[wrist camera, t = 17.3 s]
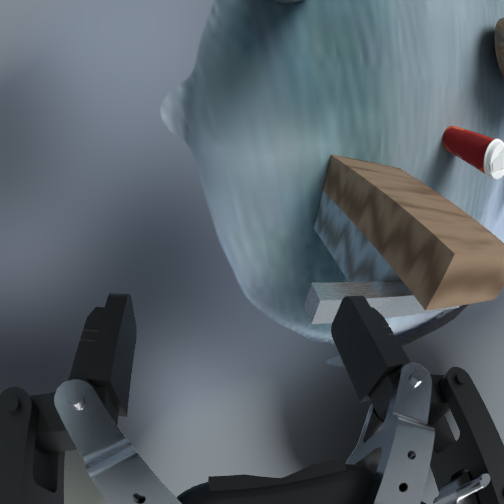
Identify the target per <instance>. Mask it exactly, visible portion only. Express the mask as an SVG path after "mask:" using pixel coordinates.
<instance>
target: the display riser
mask: <svg viewBox="0 0 504 504" xmlns="http://www.w3.org/2000/svg"><path fill="white" fill-rule="evenodd" d="M314 230H315V231H316V233H317V234H318V236H319V237H320V239H321V240H322V242H323V243H324V245H325V246H326V248H327V249H328V251H329V252H330V254H331V255H332V257H333V258H334V260H335V262H336V263H337V265H338V266H339V268H340V269H341V271H342V273H343V274H344V276H345V277H346V279H347V281H348V282H374V281H403V282H404V284H405V285H406V286H407V287H408V289H409V290H410V291H411V293H412V294H413V295H414V296H415V298H416V299H417V300H418V302H419V303H420V304H421V306H422V307H423V308H424V310H433V309H440V308H446V307H453V306H459V305H465V304H471V303H477V302H482V301H488V300H493V299H496V298H497V296H498V294H499V292H500V291H501V289H502V287H503V285H504V243H503V242H502V241H501V240H499V239H498V238H497V237H496V236H495V235H493V234H492V233H491V232H490V231H489V230H487V229H486V228H485V227H484V226H482V225H481V224H480V223H479V222H477V221H476V220H475V219H473V218H472V217H471V216H470V215H468V214H467V213H466V212H464V211H463V210H461V209H460V208H459V207H457V206H456V205H455V204H453V203H452V202H450V201H449V200H448V199H446V198H445V197H443V196H442V195H440V194H439V193H437V192H436V191H434V190H433V189H431V188H430V187H428V186H427V185H425V184H424V183H422V182H421V181H419V180H418V179H416V178H414V177H413V176H411V175H410V174H408V173H406V172H405V171H403V170H401V169H400V168H395V167H391V166H386V165H382V164H377V163H373V162H368V161H363V160H358V159H352V158H347V157H341V156H336V155H331V157H330V162H329V166H328V171H327V175H326V180H325V184H324V188H323V193H322V197H321V201H320V205H319V209H318V213H317V217H316V221H315V225H314Z"/></svg>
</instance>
